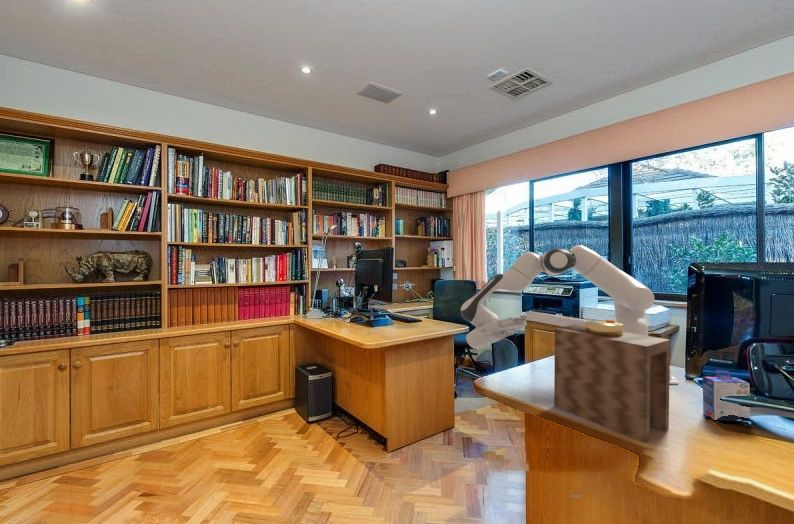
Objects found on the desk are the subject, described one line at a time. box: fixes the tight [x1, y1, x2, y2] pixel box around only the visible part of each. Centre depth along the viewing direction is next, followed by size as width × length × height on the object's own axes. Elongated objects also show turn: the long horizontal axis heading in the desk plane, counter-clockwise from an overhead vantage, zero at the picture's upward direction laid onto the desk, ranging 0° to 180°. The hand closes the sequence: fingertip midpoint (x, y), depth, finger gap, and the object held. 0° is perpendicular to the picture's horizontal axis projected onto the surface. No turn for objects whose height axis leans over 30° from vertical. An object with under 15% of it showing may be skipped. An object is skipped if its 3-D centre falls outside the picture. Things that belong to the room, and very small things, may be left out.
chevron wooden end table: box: [553, 326, 671, 444], centre depth 109 cm, size 27×14×26 cm, turn 32°
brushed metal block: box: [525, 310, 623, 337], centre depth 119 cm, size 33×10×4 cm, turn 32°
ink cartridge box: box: [702, 369, 751, 421], centre depth 108 cm, size 10×6×14 cm, turn 82°
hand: (519, 318), depth 137 cm, fingers open, 8 cm apart
